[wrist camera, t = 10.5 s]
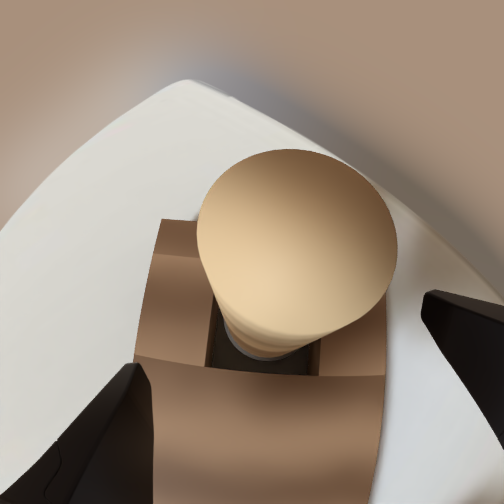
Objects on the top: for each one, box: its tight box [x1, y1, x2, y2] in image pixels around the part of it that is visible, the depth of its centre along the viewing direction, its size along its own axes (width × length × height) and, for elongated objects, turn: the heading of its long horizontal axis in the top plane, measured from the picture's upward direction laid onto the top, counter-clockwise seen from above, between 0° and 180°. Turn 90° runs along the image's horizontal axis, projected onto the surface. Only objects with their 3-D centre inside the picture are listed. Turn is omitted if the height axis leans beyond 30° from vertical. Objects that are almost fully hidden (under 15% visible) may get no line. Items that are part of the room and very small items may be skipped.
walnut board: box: [133, 219, 386, 504], centre depth 13 cm, size 22×13×3 cm, turn 175°
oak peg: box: [197, 149, 397, 361], centre depth 11 cm, size 4×4×12 cm
